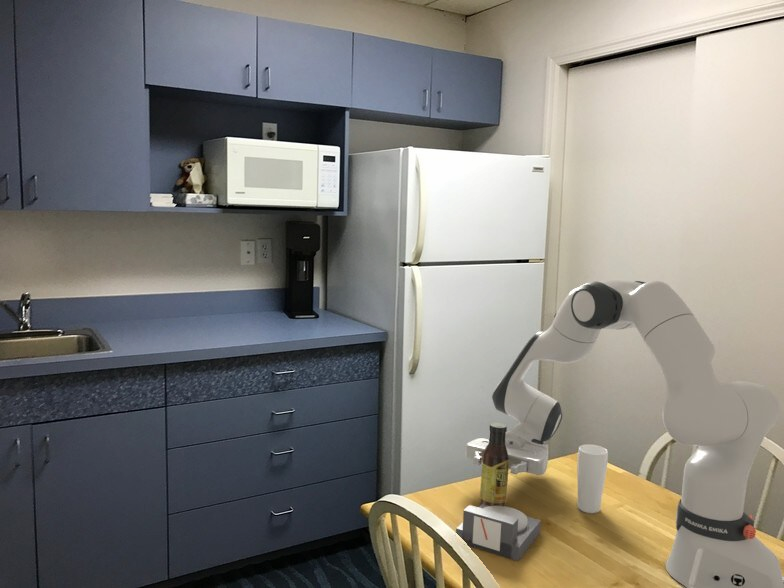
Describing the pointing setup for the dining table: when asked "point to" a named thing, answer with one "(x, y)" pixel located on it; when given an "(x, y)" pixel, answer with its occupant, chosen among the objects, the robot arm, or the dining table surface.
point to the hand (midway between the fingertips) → (494, 466)
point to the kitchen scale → (498, 530)
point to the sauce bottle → (495, 468)
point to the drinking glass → (591, 477)
